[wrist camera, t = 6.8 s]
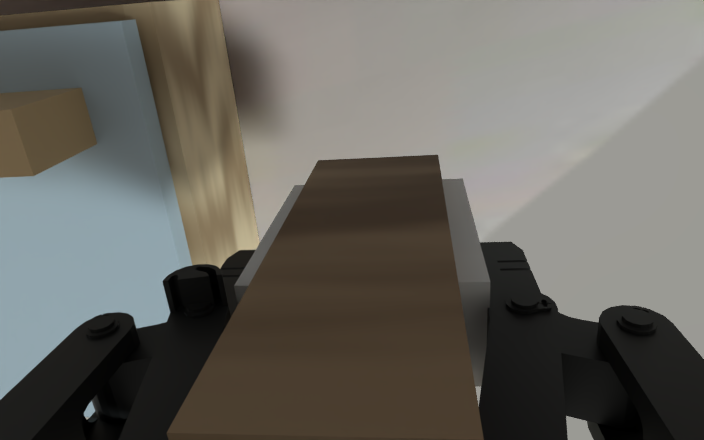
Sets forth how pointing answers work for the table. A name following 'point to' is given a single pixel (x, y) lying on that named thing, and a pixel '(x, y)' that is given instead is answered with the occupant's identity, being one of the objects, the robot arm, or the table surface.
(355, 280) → the brown wooden block
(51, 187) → the lid
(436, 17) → the table surface
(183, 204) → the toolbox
